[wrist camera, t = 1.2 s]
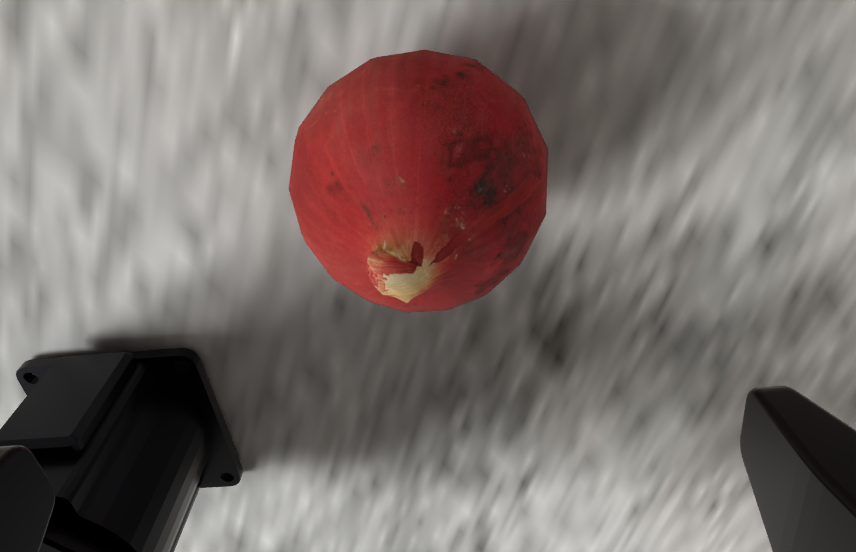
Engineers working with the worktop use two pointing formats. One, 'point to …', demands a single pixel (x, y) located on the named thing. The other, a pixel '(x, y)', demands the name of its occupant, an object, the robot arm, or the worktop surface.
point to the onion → (419, 180)
